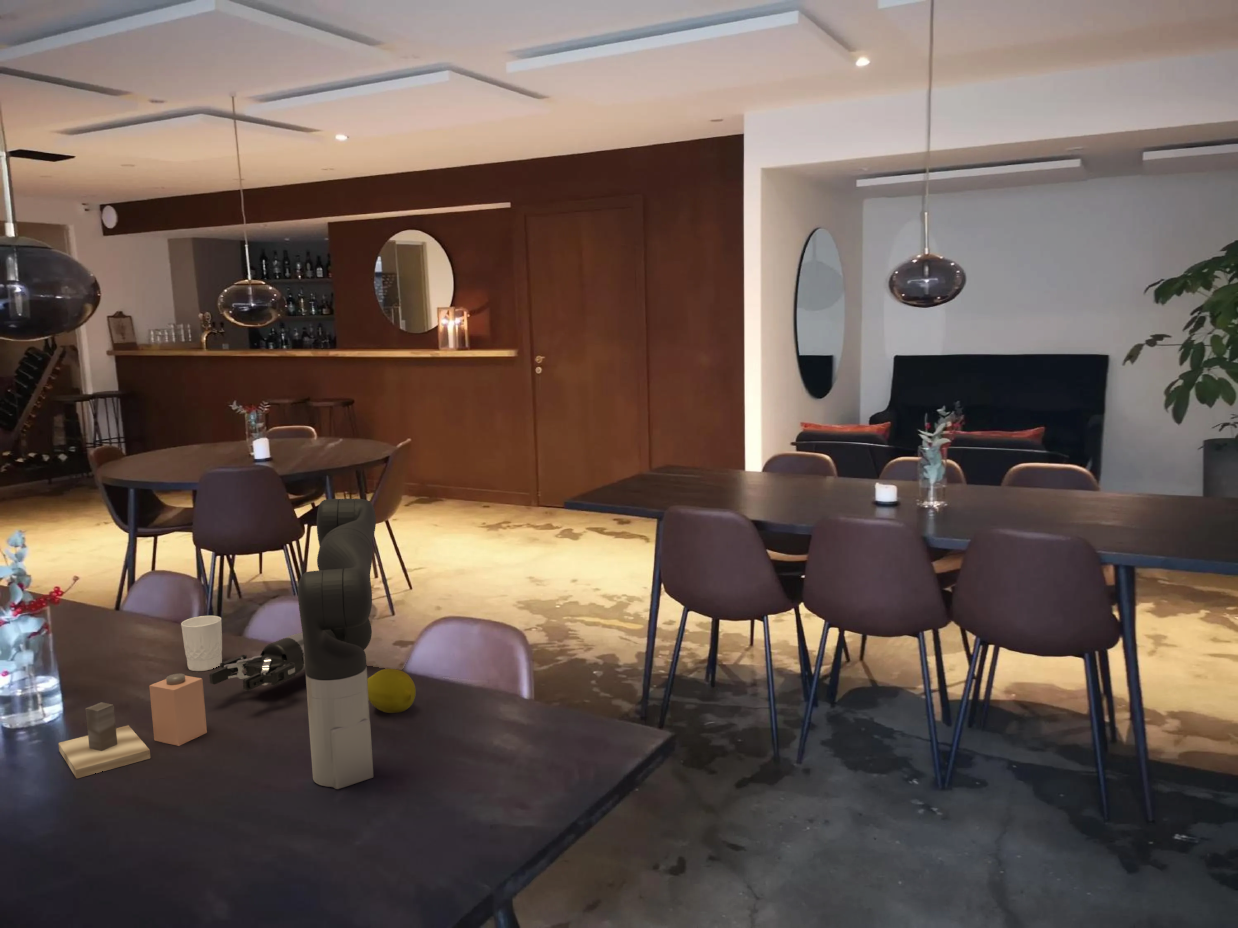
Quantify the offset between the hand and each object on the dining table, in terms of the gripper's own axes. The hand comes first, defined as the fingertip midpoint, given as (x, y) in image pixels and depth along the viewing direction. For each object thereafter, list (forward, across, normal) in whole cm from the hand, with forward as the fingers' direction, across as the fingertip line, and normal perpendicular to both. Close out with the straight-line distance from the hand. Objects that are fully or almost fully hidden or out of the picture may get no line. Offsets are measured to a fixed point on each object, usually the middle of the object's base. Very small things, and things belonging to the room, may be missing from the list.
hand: (227, 682), depth 180 cm
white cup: (-18, -26, +6) cm, 32 cm away
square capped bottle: (+11, 0, +6) cm, 13 cm away
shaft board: (+22, -6, +6) cm, 23 cm away
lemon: (-12, +28, +6) cm, 31 cm away
